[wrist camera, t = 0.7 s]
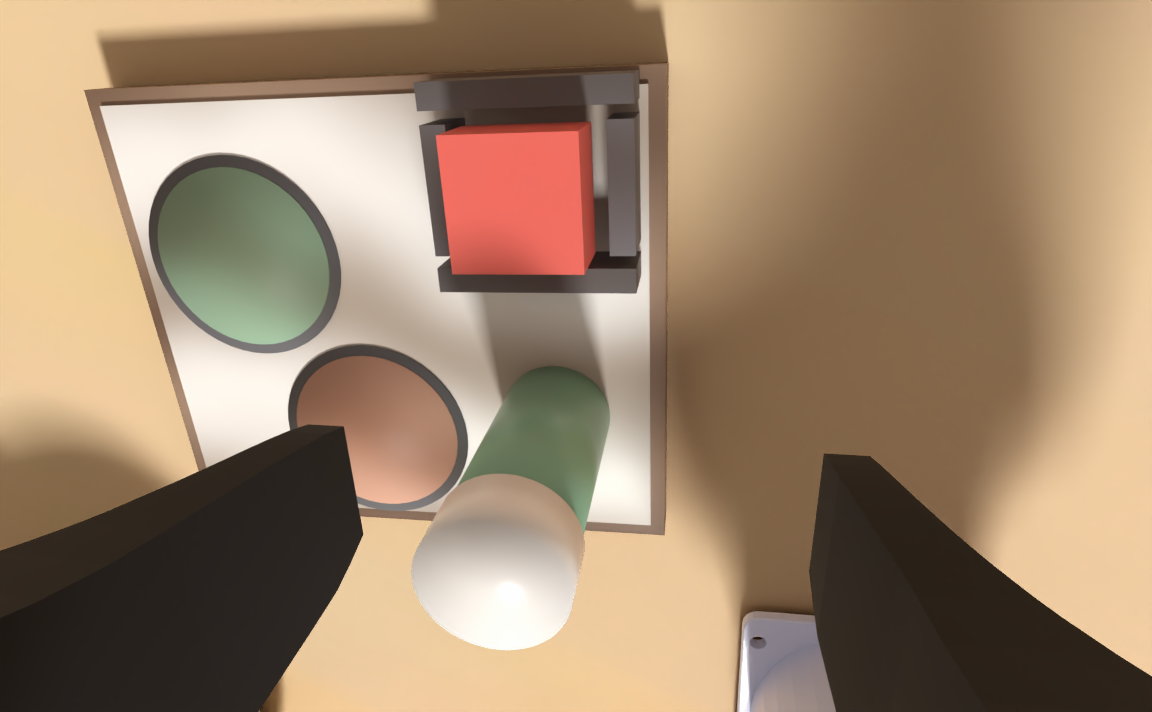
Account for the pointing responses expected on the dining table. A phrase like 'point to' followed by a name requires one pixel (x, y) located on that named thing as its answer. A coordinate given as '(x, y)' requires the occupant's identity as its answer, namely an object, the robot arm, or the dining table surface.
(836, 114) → the dining table surface
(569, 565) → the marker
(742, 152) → the dining table surface
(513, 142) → the button
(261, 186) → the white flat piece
